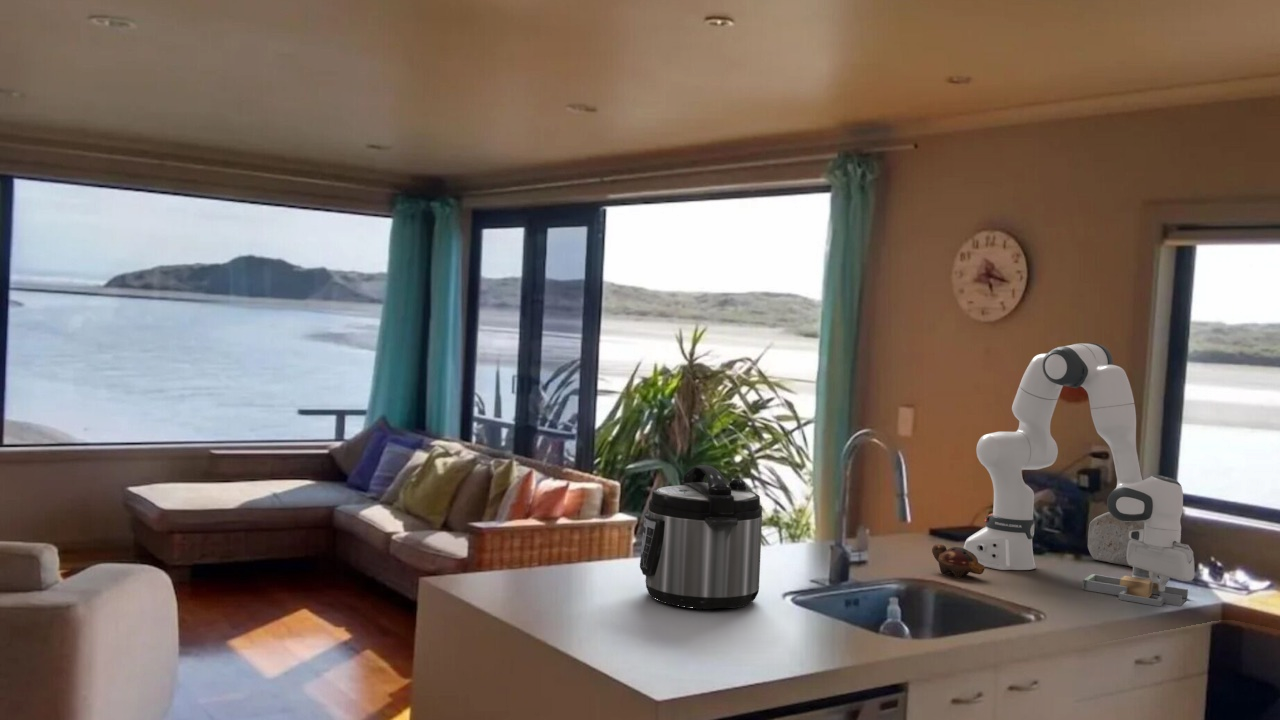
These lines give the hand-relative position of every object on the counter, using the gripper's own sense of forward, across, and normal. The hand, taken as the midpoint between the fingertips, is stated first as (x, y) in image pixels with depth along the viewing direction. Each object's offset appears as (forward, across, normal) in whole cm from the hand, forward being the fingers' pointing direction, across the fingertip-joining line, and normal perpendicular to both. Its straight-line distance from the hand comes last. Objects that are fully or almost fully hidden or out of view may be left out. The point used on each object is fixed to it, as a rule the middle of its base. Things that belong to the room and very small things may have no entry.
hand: (1158, 590), depth 298 cm
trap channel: (+2, +3, +5) cm, 6 cm away
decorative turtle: (+2, +30, +41) cm, 51 cm away
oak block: (+2, +4, +4) cm, 6 cm away
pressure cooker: (+2, +13, +125) cm, 126 cm away
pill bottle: (+2, +16, -10) cm, 19 cm away
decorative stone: (+2, +38, -24) cm, 45 cm away
